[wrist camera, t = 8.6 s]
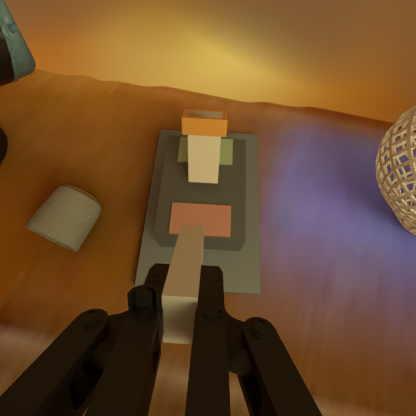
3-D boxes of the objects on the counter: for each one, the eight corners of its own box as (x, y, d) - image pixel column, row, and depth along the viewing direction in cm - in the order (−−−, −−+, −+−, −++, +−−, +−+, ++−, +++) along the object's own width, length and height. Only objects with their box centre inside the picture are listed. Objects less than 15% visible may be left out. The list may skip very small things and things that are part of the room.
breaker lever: (222, 185, 35) (227, 120, 29) (183, 183, 35) (181, 117, 29) (222, 174, 37) (227, 110, 31) (186, 171, 37) (184, 108, 31)
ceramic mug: (112, 211, 43) (92, 189, 36) (85, 256, 40) (58, 243, 33) (58, 190, 44) (29, 166, 37) (29, 232, 41) (-8, 215, 34)
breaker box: (258, 294, 38) (270, 290, 30) (137, 287, 38) (121, 280, 31) (255, 139, 48) (264, 109, 41) (161, 134, 49) (153, 103, 42)
